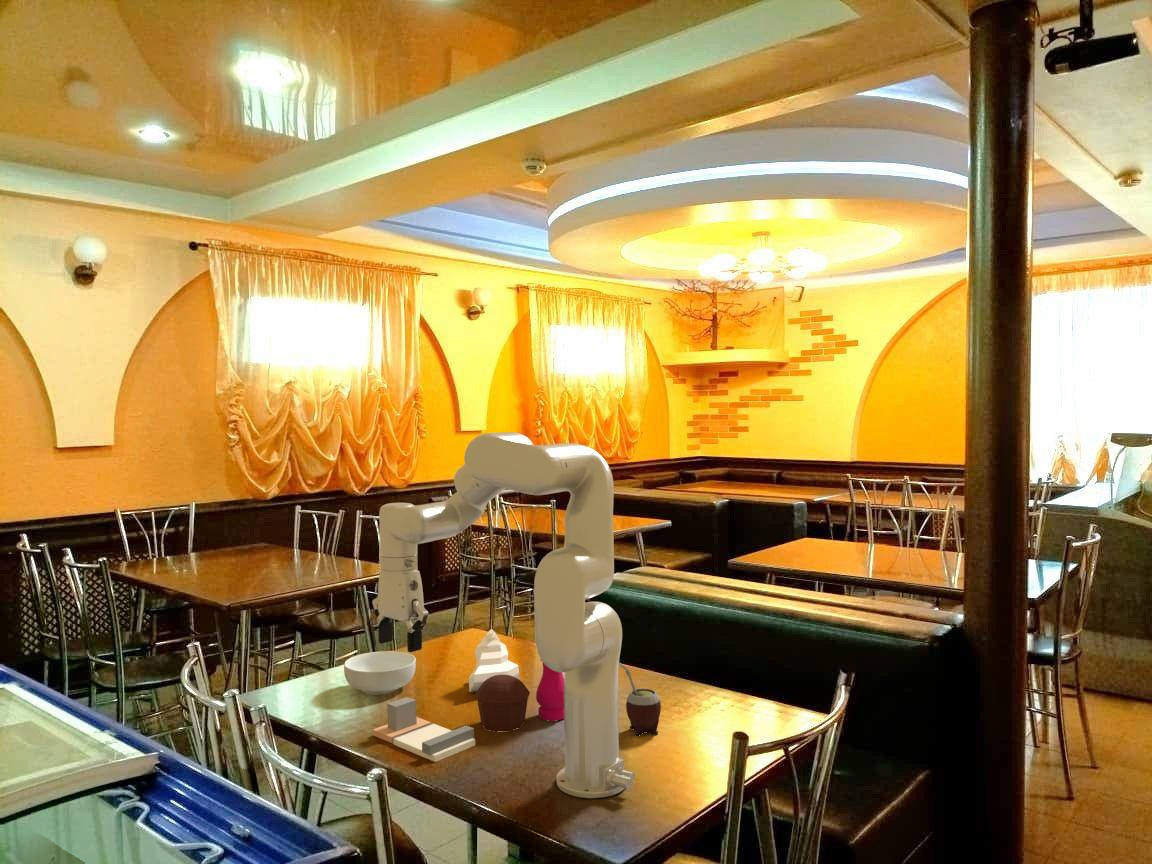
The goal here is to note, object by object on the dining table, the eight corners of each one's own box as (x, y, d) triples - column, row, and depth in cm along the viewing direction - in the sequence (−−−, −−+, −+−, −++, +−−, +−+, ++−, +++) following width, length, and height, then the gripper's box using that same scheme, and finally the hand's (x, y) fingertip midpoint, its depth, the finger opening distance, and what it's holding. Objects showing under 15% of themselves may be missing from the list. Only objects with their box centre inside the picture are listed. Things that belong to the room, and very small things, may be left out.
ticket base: (477, 744, 161) (477, 729, 161) (433, 762, 152) (432, 747, 152) (434, 728, 169) (434, 714, 169) (390, 745, 161) (390, 730, 161)
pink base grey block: (431, 728, 169) (430, 698, 169) (391, 743, 162) (391, 712, 162) (412, 720, 174) (411, 692, 173) (372, 735, 166) (372, 705, 166)
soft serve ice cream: (451, 693, 195) (448, 632, 199) (506, 686, 204) (502, 628, 207) (474, 693, 185) (471, 630, 189) (531, 686, 194) (527, 625, 197)
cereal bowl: (400, 703, 185) (400, 672, 185) (332, 700, 187) (331, 670, 187) (426, 679, 202) (425, 651, 201) (362, 677, 204) (362, 649, 204)
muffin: (465, 723, 172) (464, 676, 172) (508, 710, 179) (507, 665, 179) (497, 740, 163) (496, 690, 163) (541, 725, 170) (540, 678, 170)
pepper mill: (565, 723, 171) (564, 628, 171) (532, 721, 172) (530, 627, 172) (572, 711, 178) (571, 620, 178) (540, 709, 179) (539, 619, 179)
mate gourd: (667, 729, 167) (666, 656, 167) (648, 742, 160) (647, 666, 160) (635, 722, 171) (634, 651, 171) (616, 734, 165) (615, 661, 164)
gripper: (440, 565, 164) (441, 650, 165) (388, 556, 176) (389, 635, 176) (410, 571, 158) (411, 658, 159) (358, 561, 170) (360, 642, 170)
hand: (400, 646), depth 167 cm, fingers open, 9 cm apart
